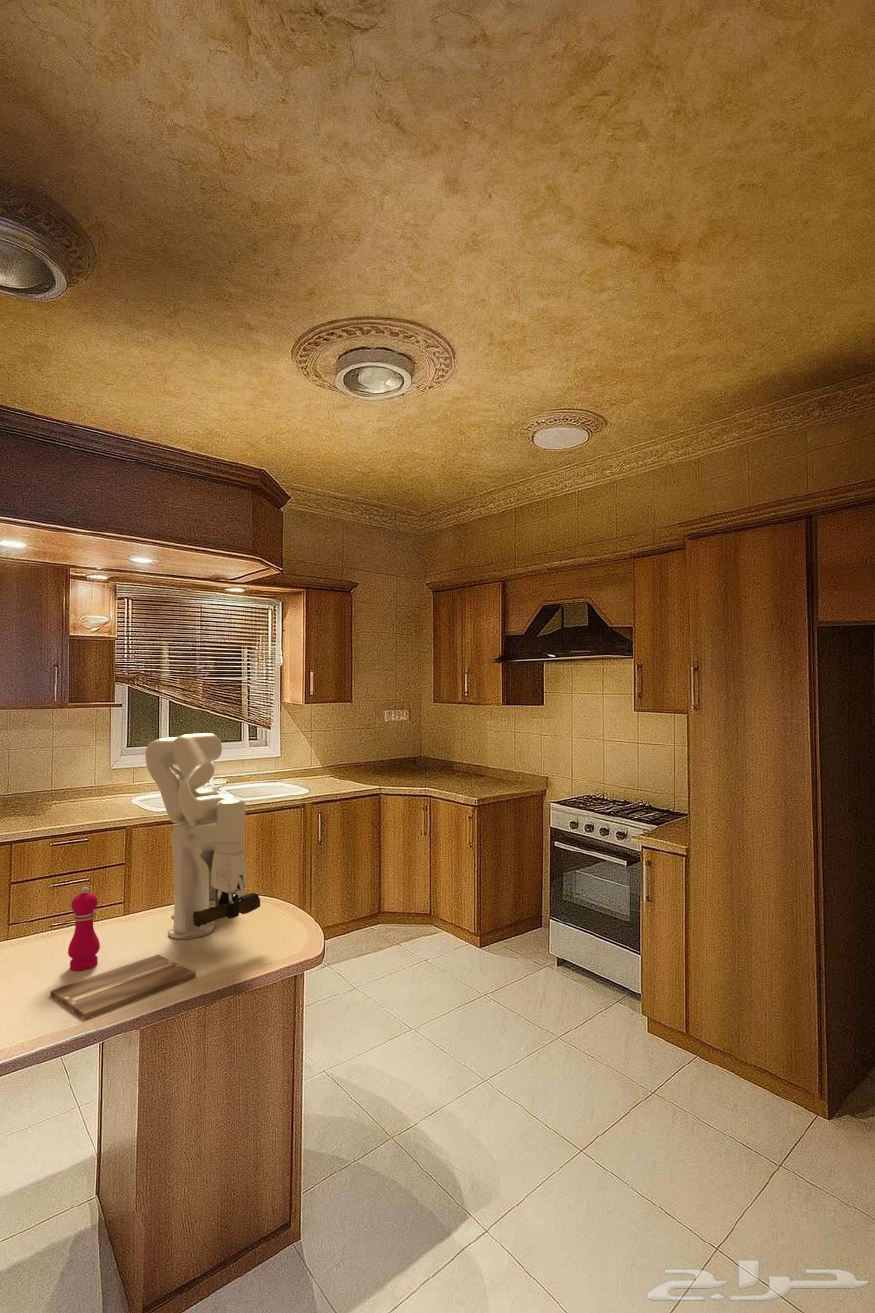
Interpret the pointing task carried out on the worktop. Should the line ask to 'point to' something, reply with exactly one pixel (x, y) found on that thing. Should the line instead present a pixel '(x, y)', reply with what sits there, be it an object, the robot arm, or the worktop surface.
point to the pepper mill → (84, 932)
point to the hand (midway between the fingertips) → (228, 915)
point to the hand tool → (226, 910)
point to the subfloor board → (121, 985)
